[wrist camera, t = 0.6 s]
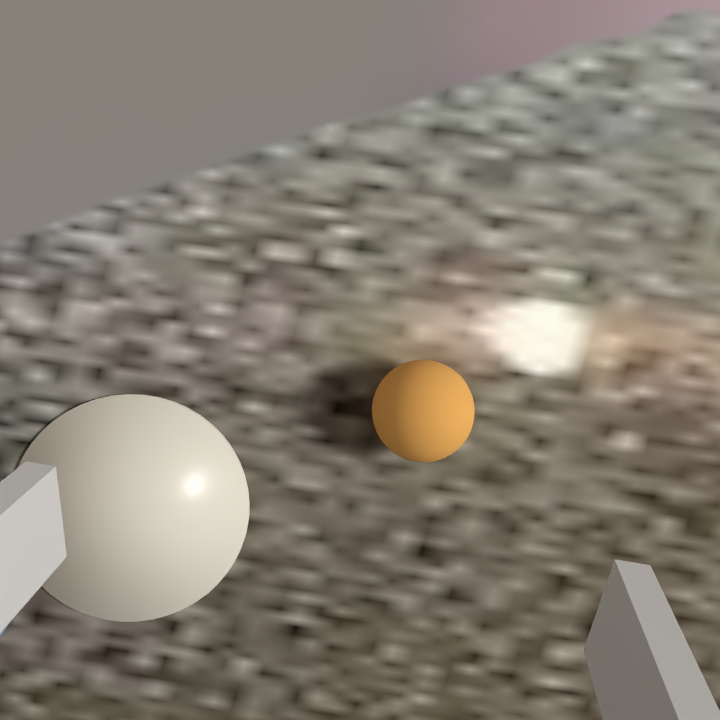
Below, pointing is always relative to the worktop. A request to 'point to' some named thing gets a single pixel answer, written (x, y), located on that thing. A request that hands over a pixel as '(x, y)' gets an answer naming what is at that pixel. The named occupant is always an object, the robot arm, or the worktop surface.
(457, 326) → the worktop surface
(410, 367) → the ball
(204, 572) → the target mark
